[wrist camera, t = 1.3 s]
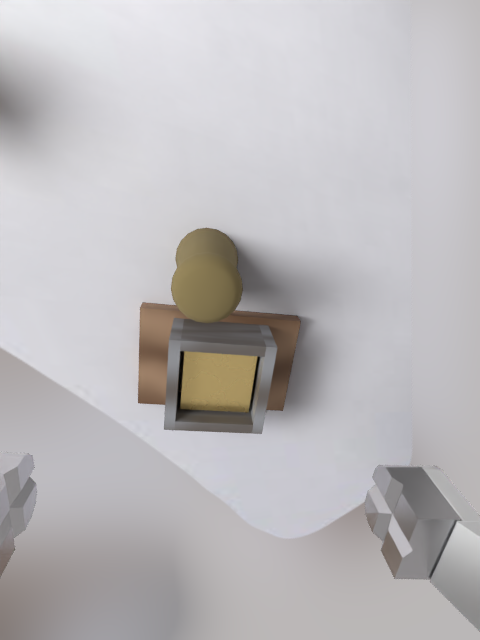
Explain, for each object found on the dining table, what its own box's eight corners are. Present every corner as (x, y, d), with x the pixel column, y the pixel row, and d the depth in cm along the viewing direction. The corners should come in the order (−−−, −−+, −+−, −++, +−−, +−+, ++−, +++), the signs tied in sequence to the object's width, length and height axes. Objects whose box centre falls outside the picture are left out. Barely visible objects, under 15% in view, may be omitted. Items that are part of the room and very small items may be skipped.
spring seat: (185, 342, 34) (184, 347, 33) (256, 347, 35) (258, 352, 34) (180, 402, 36) (180, 409, 35) (247, 406, 37) (248, 412, 36)
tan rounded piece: (239, 228, 34) (253, 253, 24) (236, 289, 36) (248, 335, 26) (174, 226, 34) (160, 250, 23) (176, 288, 36) (164, 335, 26)
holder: (142, 302, 36) (129, 328, 30) (297, 315, 38) (314, 342, 32) (140, 395, 40) (128, 434, 34) (280, 402, 42) (292, 441, 36)
